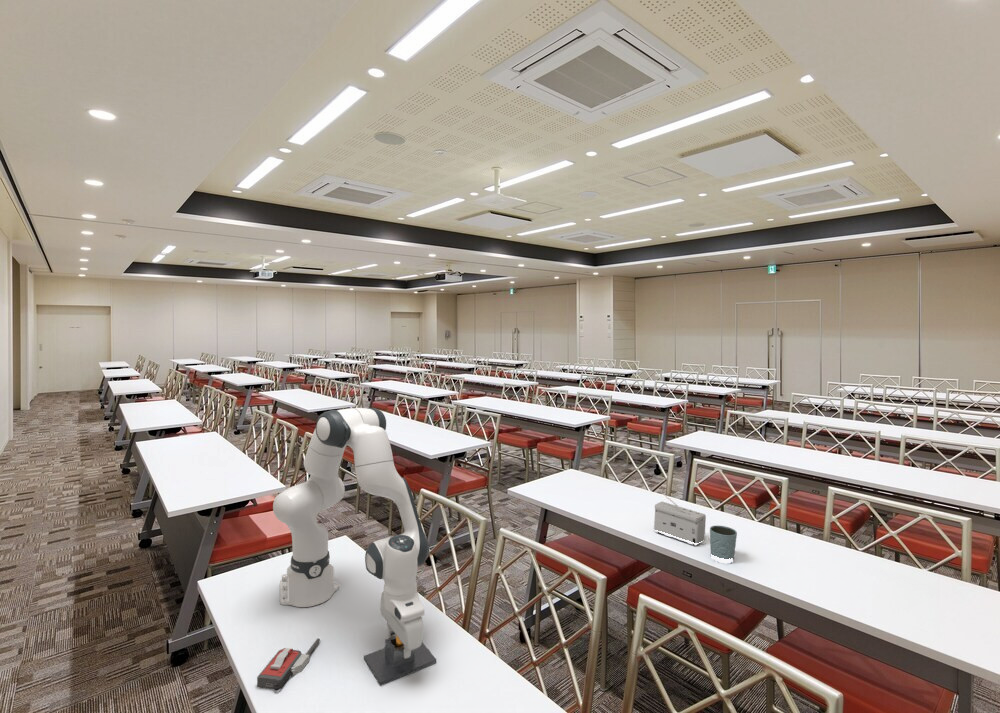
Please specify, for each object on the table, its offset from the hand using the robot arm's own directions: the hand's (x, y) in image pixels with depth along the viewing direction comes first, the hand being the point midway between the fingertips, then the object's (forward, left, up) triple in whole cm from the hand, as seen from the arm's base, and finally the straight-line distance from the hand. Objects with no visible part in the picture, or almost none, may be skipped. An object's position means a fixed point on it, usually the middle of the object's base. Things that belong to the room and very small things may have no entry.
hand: (399, 646), depth 136 cm
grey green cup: (+13, +134, -4) cm, 135 cm away
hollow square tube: (0, 0, -3) cm, 3 cm away
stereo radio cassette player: (-9, +136, -4) cm, 137 cm away
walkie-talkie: (-14, -25, -5) cm, 29 cm away
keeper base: (0, 0, -4) cm, 4 cm away
